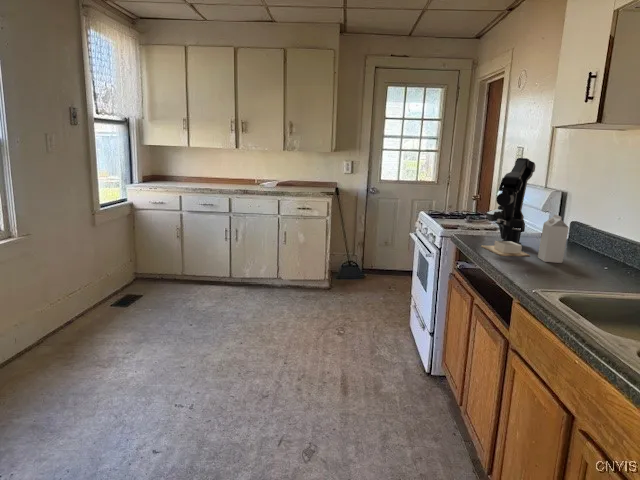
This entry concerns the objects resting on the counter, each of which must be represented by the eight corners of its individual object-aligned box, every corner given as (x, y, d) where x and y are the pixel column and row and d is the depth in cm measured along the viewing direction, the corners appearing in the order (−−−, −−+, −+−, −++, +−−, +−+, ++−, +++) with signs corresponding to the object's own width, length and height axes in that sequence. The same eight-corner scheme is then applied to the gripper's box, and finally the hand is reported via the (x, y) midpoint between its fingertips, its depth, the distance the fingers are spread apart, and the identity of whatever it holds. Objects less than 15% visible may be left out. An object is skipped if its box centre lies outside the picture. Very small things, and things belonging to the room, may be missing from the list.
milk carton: (554, 259, 184) (562, 214, 180) (562, 263, 177) (570, 217, 173) (537, 257, 185) (545, 213, 180) (544, 262, 178) (552, 216, 173)
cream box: (511, 241, 194) (521, 245, 187) (510, 249, 195) (520, 253, 188) (494, 240, 193) (504, 245, 186) (493, 248, 194) (503, 253, 186)
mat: (509, 247, 201) (509, 246, 201) (530, 256, 186) (530, 255, 186) (481, 246, 199) (481, 245, 199) (499, 255, 184) (499, 254, 184)
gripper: (480, 200, 199) (475, 233, 202) (502, 206, 181) (496, 243, 184) (503, 201, 200) (498, 234, 204) (527, 207, 182) (521, 243, 186)
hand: (502, 238), depth 194 cm, fingers closed
